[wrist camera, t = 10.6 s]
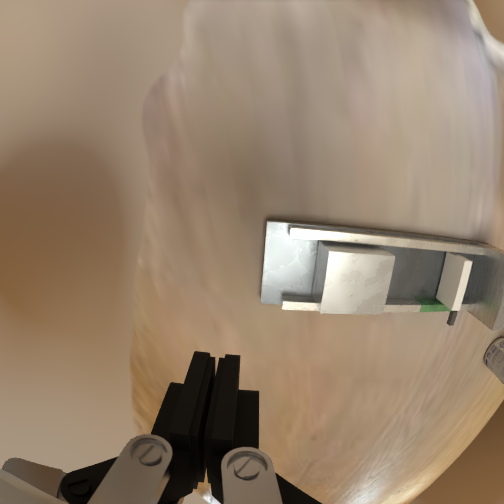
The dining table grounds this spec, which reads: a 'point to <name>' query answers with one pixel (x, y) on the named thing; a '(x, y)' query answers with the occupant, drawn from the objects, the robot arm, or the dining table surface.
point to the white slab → (453, 283)
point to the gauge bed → (403, 275)
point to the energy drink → (496, 358)
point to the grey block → (351, 278)
